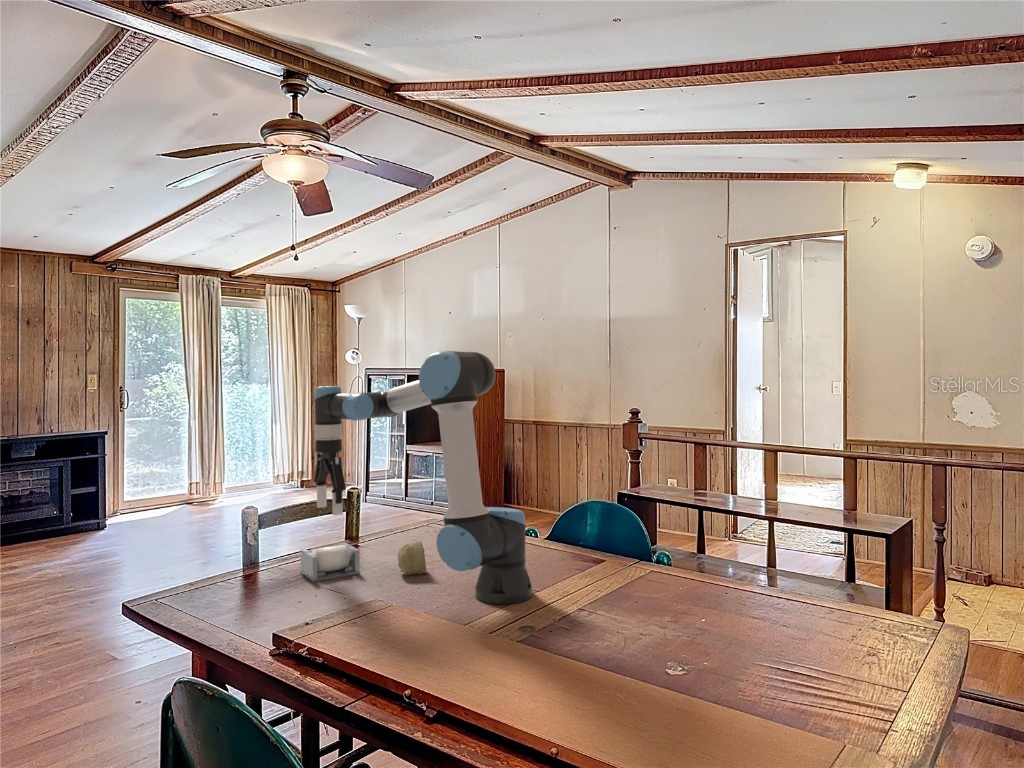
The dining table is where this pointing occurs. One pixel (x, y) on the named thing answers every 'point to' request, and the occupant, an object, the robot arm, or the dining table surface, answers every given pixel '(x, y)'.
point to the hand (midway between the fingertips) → (329, 510)
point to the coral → (412, 559)
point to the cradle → (311, 571)
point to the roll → (332, 558)
